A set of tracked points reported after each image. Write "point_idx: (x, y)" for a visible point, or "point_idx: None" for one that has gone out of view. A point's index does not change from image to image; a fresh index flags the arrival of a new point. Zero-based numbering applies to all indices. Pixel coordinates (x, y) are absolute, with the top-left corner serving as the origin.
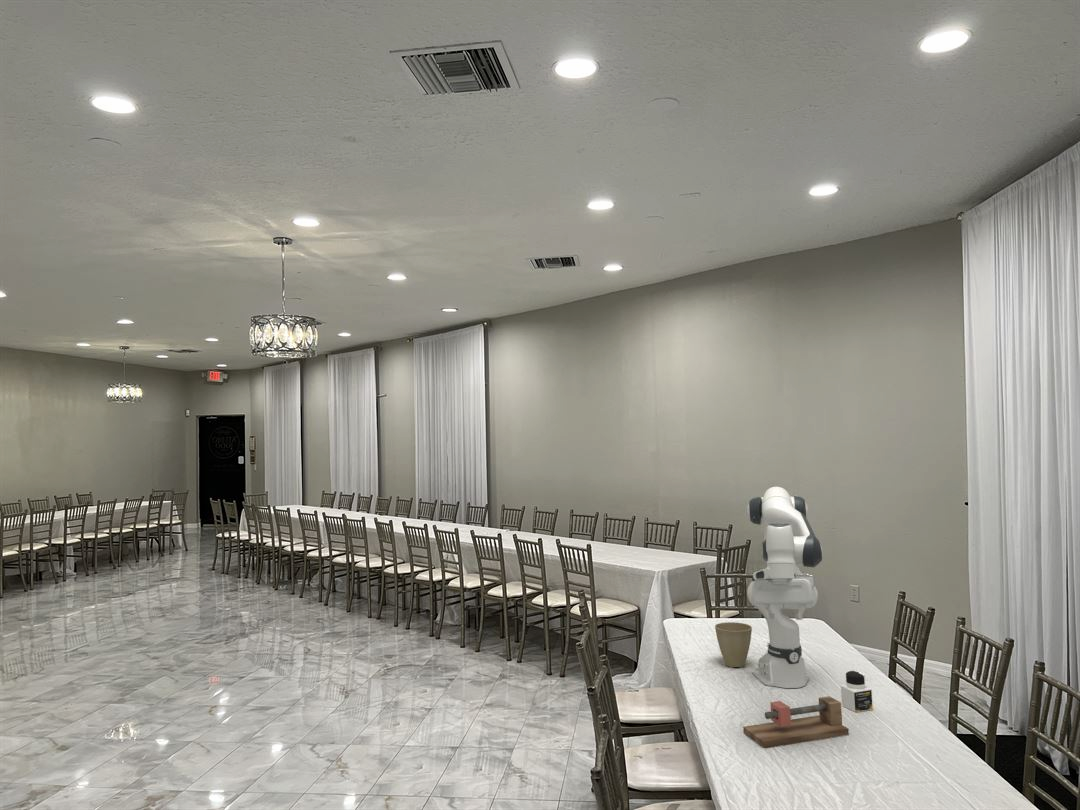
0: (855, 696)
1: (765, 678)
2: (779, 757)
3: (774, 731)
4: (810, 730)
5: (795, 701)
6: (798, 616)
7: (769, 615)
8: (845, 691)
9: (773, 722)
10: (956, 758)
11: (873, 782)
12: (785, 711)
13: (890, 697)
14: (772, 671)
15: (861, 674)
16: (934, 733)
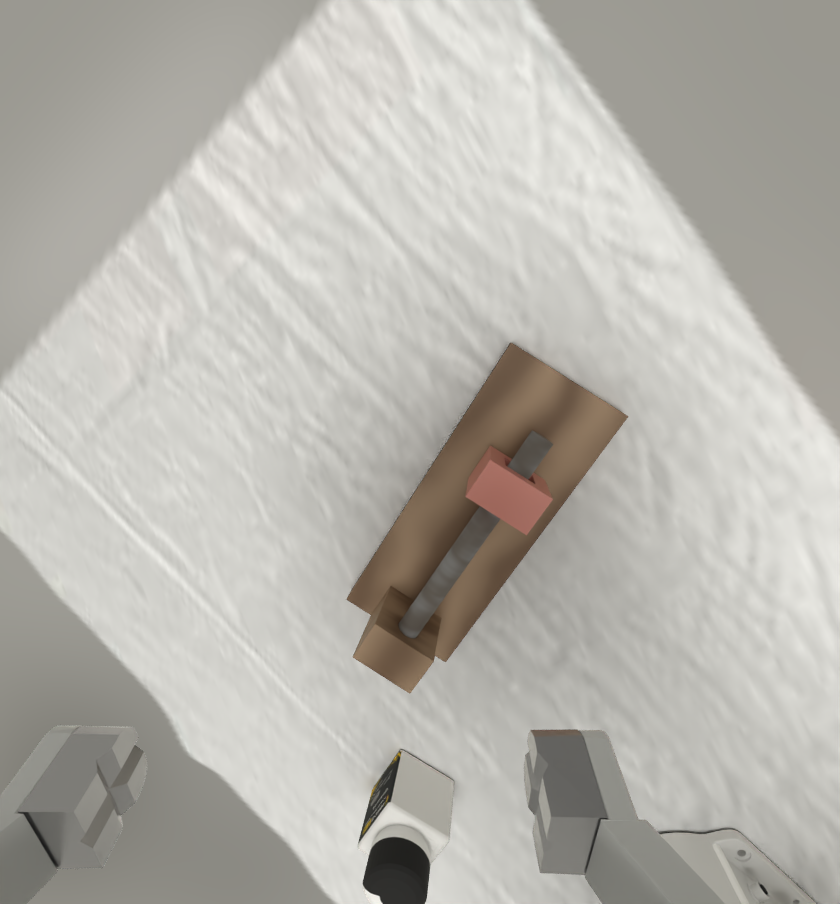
0: (390, 791)
1: (755, 874)
2: (440, 313)
3: (517, 445)
4: (427, 521)
5: None
6: (51, 762)
7: (579, 774)
8: (429, 814)
9: (553, 512)
10: (104, 598)
11: (179, 337)
12: (477, 475)
13: None
14: (731, 890)
15: (369, 891)
16: (196, 714)
